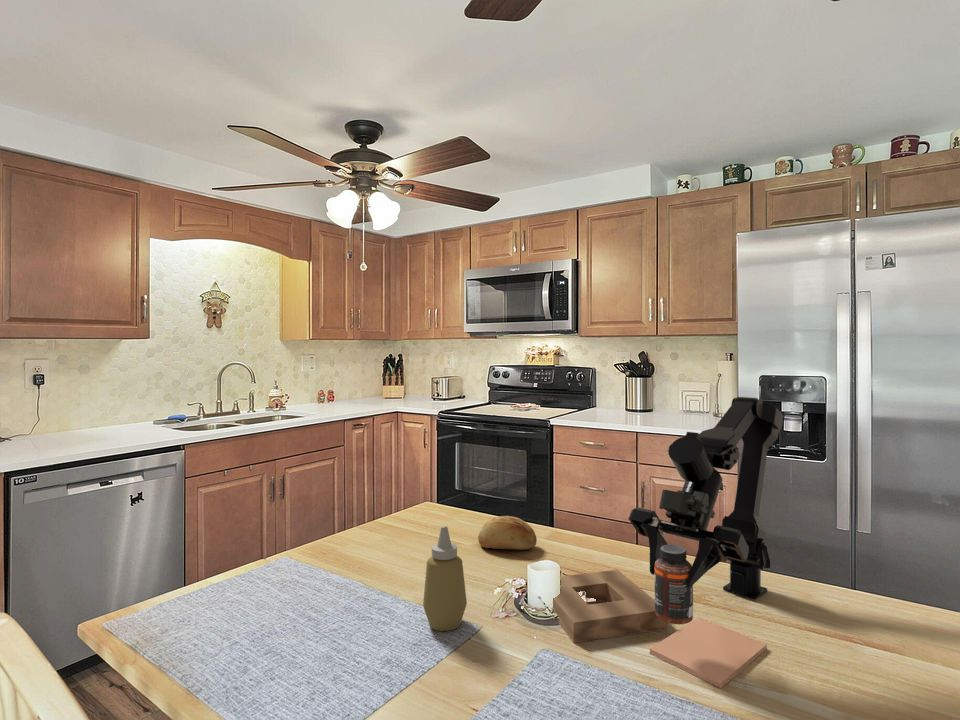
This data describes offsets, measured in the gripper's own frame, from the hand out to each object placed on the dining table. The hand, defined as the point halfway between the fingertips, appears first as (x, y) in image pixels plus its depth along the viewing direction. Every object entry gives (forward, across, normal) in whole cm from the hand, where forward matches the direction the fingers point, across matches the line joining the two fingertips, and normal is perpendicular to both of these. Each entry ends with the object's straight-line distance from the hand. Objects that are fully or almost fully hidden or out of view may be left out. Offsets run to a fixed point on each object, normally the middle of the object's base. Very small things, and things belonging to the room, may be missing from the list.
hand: (669, 579), depth 87 cm
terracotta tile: (+5, +4, +14) cm, 15 cm away
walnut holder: (+5, -17, +13) cm, 22 cm away
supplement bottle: (+4, 0, +6) cm, 7 cm away
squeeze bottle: (+22, -35, -3) cm, 41 cm away
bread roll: (-3, -52, +22) cm, 57 cm away
